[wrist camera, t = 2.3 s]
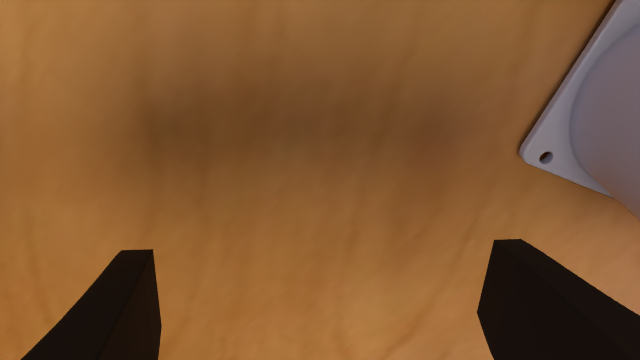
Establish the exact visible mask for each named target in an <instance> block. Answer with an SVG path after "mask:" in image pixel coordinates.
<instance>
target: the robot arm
mask: <svg viewBox="0 0 640 360" xmlns="http://www.w3.org/2000/svg"><path fill="white" fill-rule="evenodd" d="M545 152H548V154H547V156H546V157H545V158H543V159H540V156H541V155H542V154H543V153H545ZM519 155H520V157H521V159H522V160H523V161H524V162H526V163H527V164H529V165H531V166H534V167H537V168H539V169H542V170H544V171H547V172H549V173H552V174H554V175H557V176H559V177H562V178H564V179H567V180H569V181H572V182H574V183H577V184H579V185H582V186H584V187H587V188H589V189H592V190H594V191H597V192H599V193H602V194H604V195H607V196H609V197H612V198H614V199H616V200H618V201H619V202H620V203H621V204H622V205H623V206H624V207H625V208H627V209H628V210H629V211H630V212H631V213H632V214H633V215H634V216H636V217H637V218H638V219H639V220H640V0H616V1H615V3H614V4H613V6H612V7H611V9H610V10H609V12H608V13H607V15H606V16H605V18H604V20H603V21H602V23H601V24H600V26H599V27H598V29H597V30H596V32H595V33H594V35H593V36H592V38H591V39H590V41H589V43H588V44H587V46H586V47H585V49H584V50H583V52H582V53H581V55H580V56H579V58H578V59H577V61H576V62H575V64H574V66H573V67H572V69H571V70H570V72H569V73H568V75H567V76H566V78H565V79H564V81H563V82H562V84H561V86H560V87H559V89H558V90H557V92H556V93H555V95H554V96H553V98H552V99H551V101H550V102H549V104H548V105H547V107H546V109H545V110H544V112H543V113H542V115H541V116H540V118H539V119H538V121H537V122H536V124H535V125H534V127H533V128H532V130H531V132H530V133H529V135H528V136H527V138H526V139H525V141H524V142H523V144H522V145H521V148H520V150H519ZM477 314H478V317H479V320H480V323H481V326H482V329H483V332H484V335H485V338H486V341H487V343H488V346H489V349H490V352H491V354H492V356H493V358H494V360H640V316H639V315H638V314H636V313H634V312H633V311H631V310H629V309H628V308H626V307H624V306H623V305H621V304H620V303H618V302H617V301H615V300H613V299H612V298H610V297H609V296H607V295H606V294H604V293H603V292H601V291H599V290H598V289H596V288H595V287H593V286H592V285H590V284H589V283H587V282H586V281H584V280H583V279H581V278H580V277H578V276H577V275H575V274H574V273H573V272H571V271H570V270H568V269H567V268H565V267H564V266H562V265H561V264H559V263H558V262H556V261H555V260H553V259H552V258H550V257H549V256H547V255H546V254H544V253H543V252H541V251H540V250H538V249H537V248H535V247H533V246H532V245H530V244H529V243H527V242H525V241H523V240H522V239H507V240H494V243H493V247H492V251H491V255H490V259H489V264H488V268H487V272H486V276H485V280H484V285H483V289H482V293H481V297H480V301H479V306H478V310H477ZM161 327H162V326H161V317H160V308H159V300H158V291H157V282H156V273H155V264H154V255H153V249H151V250H121V251H120V252H119V253H118V254H117V255H116V256H115V258H114V259H113V260H112V261H111V262H110V264H109V265H108V266H107V267H106V268H105V270H104V271H103V272H102V273H101V275H100V276H99V277H98V278H97V279H96V281H95V282H94V283H93V284H92V285H91V286H90V288H89V289H88V290H87V291H86V292H85V293H84V295H83V296H82V297H81V298H80V299H79V300H78V301H77V302H76V303H75V305H74V306H73V307H72V308H71V309H70V310H69V311H68V312H67V313H66V315H65V316H64V317H63V318H62V319H61V320H60V321H59V322H58V323H57V324H56V325H55V326H54V327H53V328H52V329H51V330H50V331H49V332H48V333H47V334H46V335H45V336H44V337H43V338H42V339H41V340H40V341H39V342H38V343H37V344H36V345H35V346H34V347H33V348H32V349H31V350H30V351H29V352H28V353H27V354H26V355H25V356H24V357H23V358H22V359H21V360H158V354H159V346H160V336H161Z"/></svg>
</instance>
